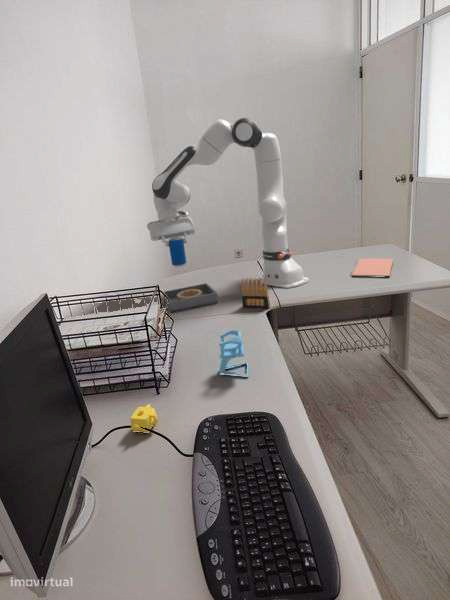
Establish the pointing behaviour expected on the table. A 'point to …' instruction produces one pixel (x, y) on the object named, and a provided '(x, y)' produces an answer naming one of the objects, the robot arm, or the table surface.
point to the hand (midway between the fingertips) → (176, 244)
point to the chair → (231, 351)
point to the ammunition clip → (255, 295)
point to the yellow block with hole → (143, 418)
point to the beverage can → (177, 251)
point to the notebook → (372, 267)
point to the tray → (190, 297)
